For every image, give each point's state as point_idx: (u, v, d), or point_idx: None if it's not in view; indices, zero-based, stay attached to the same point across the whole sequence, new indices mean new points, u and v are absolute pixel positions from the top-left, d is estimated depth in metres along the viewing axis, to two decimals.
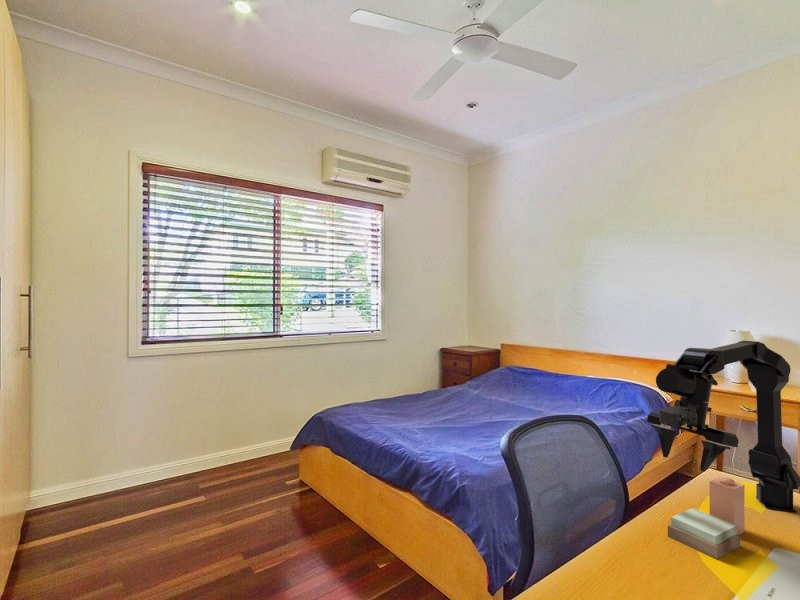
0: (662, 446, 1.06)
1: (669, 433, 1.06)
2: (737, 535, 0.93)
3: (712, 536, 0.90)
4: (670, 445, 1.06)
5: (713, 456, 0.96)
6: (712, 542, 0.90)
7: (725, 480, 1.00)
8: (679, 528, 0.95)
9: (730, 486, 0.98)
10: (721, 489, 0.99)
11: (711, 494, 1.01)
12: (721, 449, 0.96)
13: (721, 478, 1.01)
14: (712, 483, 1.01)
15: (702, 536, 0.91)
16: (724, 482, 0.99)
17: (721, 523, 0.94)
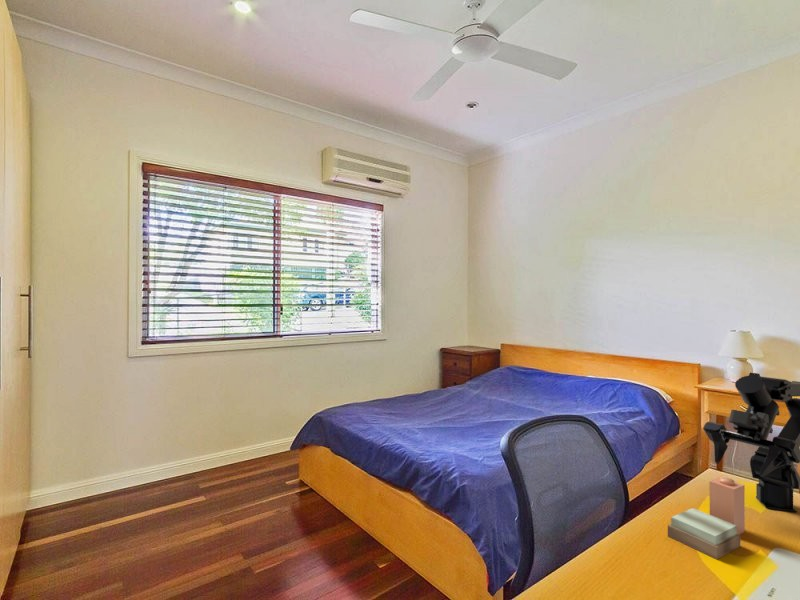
0: (716, 452, 1.08)
1: (723, 443, 1.09)
2: (737, 535, 0.93)
3: (712, 536, 0.90)
4: (722, 455, 1.08)
5: (774, 465, 0.99)
6: (712, 542, 0.90)
7: (725, 480, 1.00)
8: (679, 528, 0.95)
9: (730, 486, 0.98)
10: (721, 489, 0.99)
11: (711, 494, 1.01)
12: (782, 462, 1.00)
13: (721, 478, 1.01)
14: (712, 483, 1.01)
15: (702, 536, 0.91)
16: (724, 482, 0.99)
17: (721, 523, 0.94)
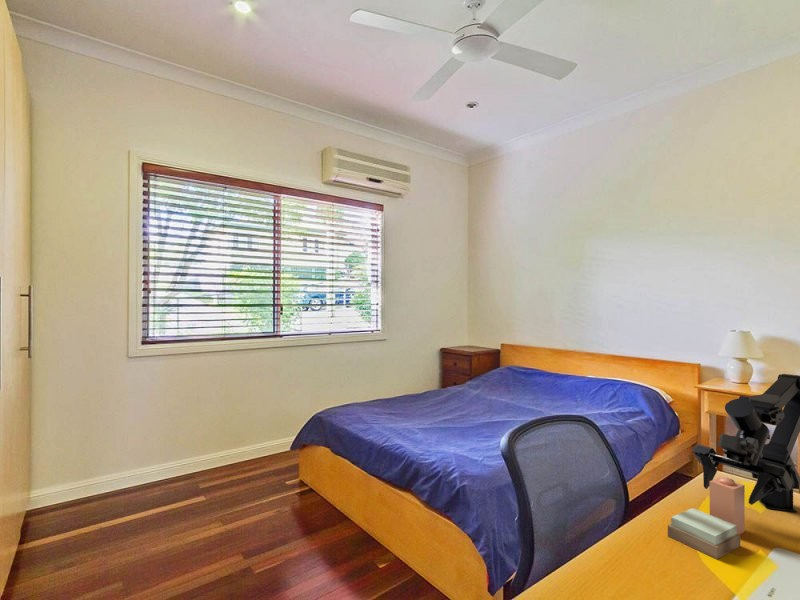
0: (705, 476, 1.05)
1: (712, 467, 1.07)
2: (737, 535, 0.93)
3: (712, 536, 0.90)
4: (711, 479, 1.06)
5: (763, 493, 0.97)
6: (712, 542, 0.90)
7: (725, 480, 1.00)
8: (679, 528, 0.95)
9: (730, 486, 0.98)
10: (721, 489, 0.99)
11: (711, 494, 1.01)
12: (771, 489, 0.97)
13: (721, 478, 1.01)
14: (712, 483, 1.01)
15: (702, 536, 0.91)
16: (724, 482, 0.99)
17: (721, 523, 0.94)
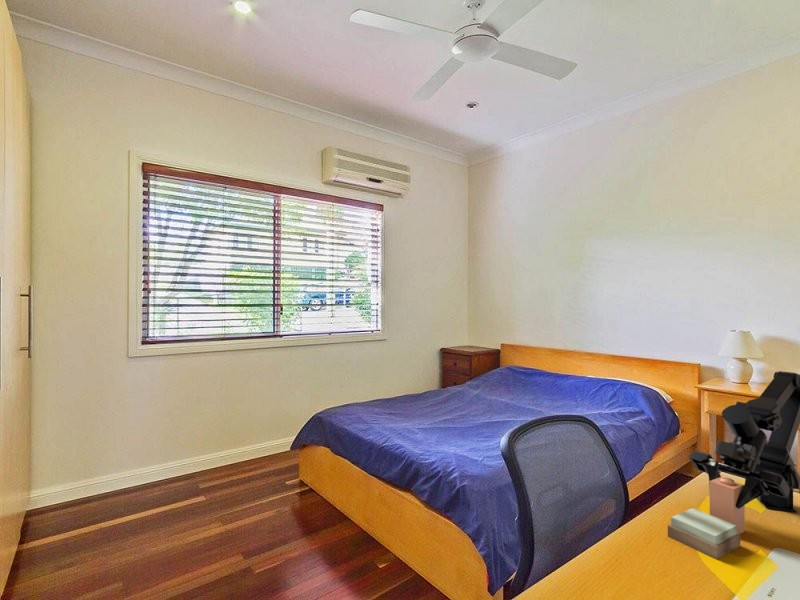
0: None
1: (718, 477, 1.04)
2: (737, 535, 0.93)
3: (712, 536, 0.90)
4: None
5: (750, 497, 0.98)
6: (712, 542, 0.90)
7: (725, 480, 1.00)
8: (679, 528, 0.95)
9: (730, 486, 0.98)
10: (721, 489, 0.99)
11: (711, 494, 1.01)
12: (758, 493, 0.98)
13: (721, 478, 1.01)
14: (712, 483, 1.01)
15: (702, 536, 0.91)
16: (724, 482, 0.99)
17: (721, 523, 0.94)
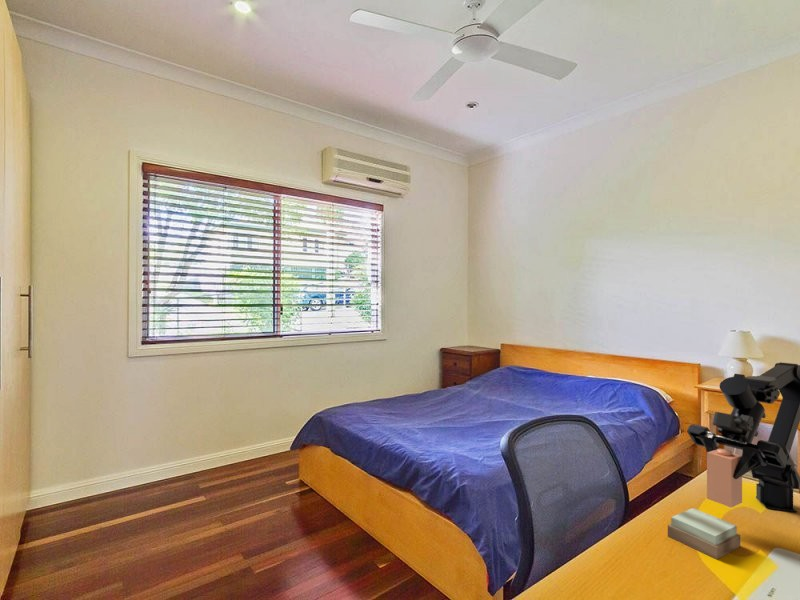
0: None
1: (716, 449, 1.04)
2: (737, 535, 0.93)
3: (712, 536, 0.90)
4: None
5: (748, 467, 0.97)
6: (712, 542, 0.90)
7: (723, 451, 0.99)
8: (679, 528, 0.95)
9: (727, 457, 0.98)
10: (718, 460, 0.99)
11: (708, 465, 1.00)
12: (756, 464, 0.98)
13: (718, 449, 1.00)
14: (709, 454, 1.00)
15: (702, 536, 0.91)
16: (721, 453, 0.99)
17: (721, 523, 0.94)
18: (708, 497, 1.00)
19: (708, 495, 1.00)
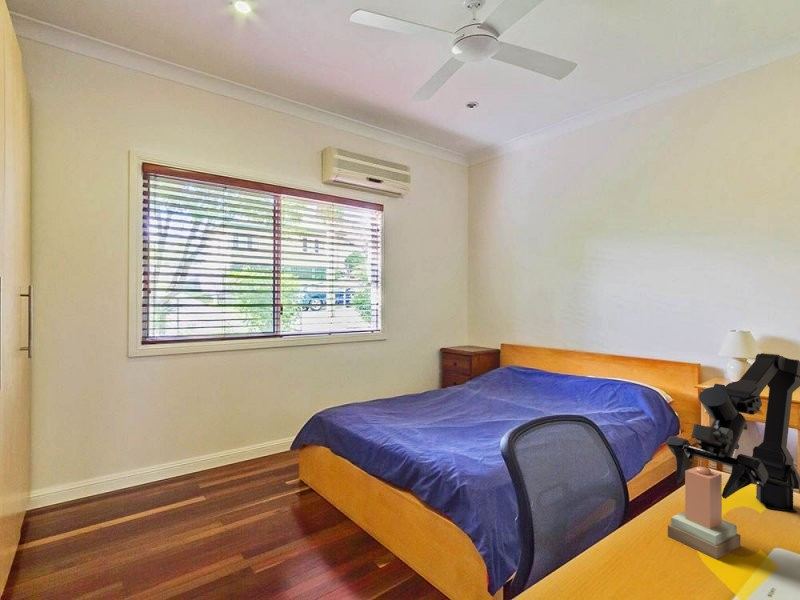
0: (678, 469, 1.00)
1: (686, 460, 1.01)
2: (737, 535, 0.93)
3: (712, 536, 0.90)
4: None
5: (737, 486, 0.91)
6: (712, 542, 0.90)
7: (701, 470, 0.95)
8: (679, 528, 0.95)
9: (706, 475, 0.93)
10: (696, 479, 0.94)
11: (687, 484, 0.96)
12: (746, 482, 0.92)
13: (697, 467, 0.96)
14: (688, 472, 0.96)
15: (702, 536, 0.91)
16: (700, 471, 0.95)
17: None
18: (686, 517, 0.96)
19: (686, 515, 0.96)
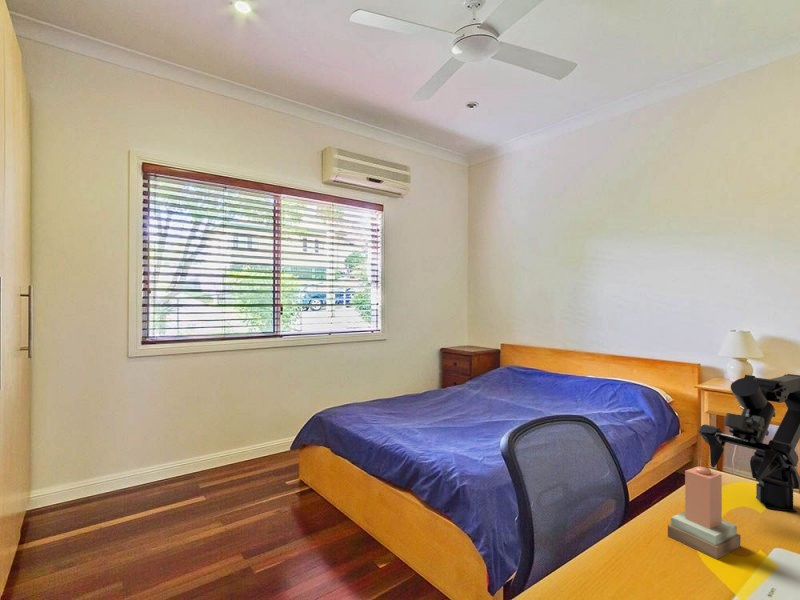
0: (712, 455, 1.07)
1: (719, 446, 1.08)
2: (737, 535, 0.93)
3: (712, 536, 0.90)
4: (718, 458, 1.07)
5: (770, 469, 0.98)
6: (712, 542, 0.90)
7: (701, 470, 0.95)
8: (679, 528, 0.95)
9: (706, 475, 0.93)
10: (696, 479, 0.94)
11: (687, 484, 0.96)
12: (778, 466, 0.99)
13: (697, 467, 0.96)
14: (688, 472, 0.96)
15: (702, 536, 0.91)
16: (700, 471, 0.95)
17: None
18: (686, 517, 0.96)
19: (686, 515, 0.96)
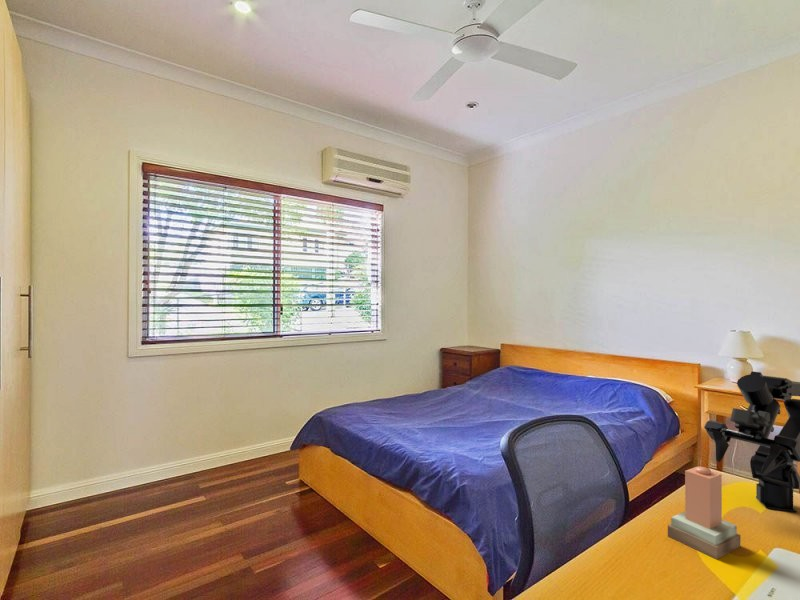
0: (717, 450, 1.08)
1: (724, 442, 1.09)
2: (737, 535, 0.93)
3: (712, 536, 0.90)
4: (723, 453, 1.08)
5: (775, 464, 0.99)
6: (712, 542, 0.90)
7: (701, 470, 0.95)
8: (679, 528, 0.95)
9: (706, 475, 0.93)
10: (696, 479, 0.94)
11: (687, 484, 0.96)
12: (783, 461, 1.00)
13: (697, 467, 0.96)
14: (688, 472, 0.96)
15: (702, 536, 0.91)
16: (700, 471, 0.95)
17: None
18: (686, 517, 0.96)
19: (686, 515, 0.96)
